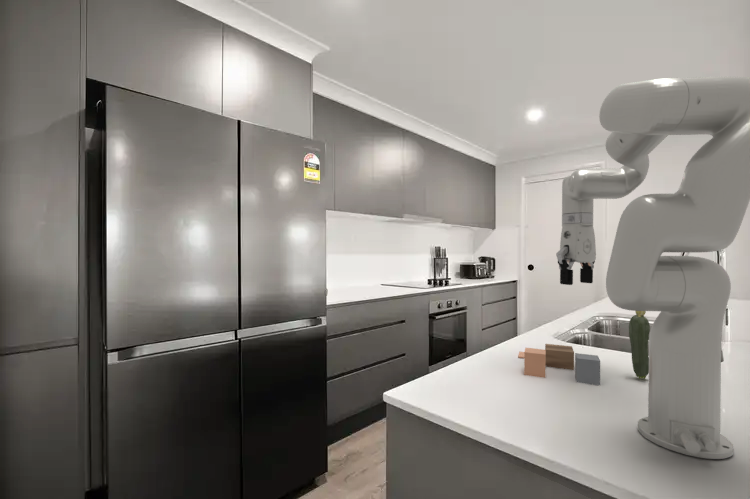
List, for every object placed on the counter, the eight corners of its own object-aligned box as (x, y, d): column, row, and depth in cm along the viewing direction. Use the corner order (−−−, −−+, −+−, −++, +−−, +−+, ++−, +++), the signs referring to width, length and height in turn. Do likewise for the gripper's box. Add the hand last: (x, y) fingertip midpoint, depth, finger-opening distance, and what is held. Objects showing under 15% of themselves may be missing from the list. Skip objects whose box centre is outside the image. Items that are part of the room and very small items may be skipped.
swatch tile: (539, 360, 108) (539, 359, 108) (518, 357, 111) (518, 356, 111) (540, 355, 114) (540, 353, 114) (519, 352, 116) (519, 351, 116)
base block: (573, 370, 100) (574, 352, 100) (545, 367, 103) (545, 349, 103) (571, 363, 106) (571, 346, 106) (545, 360, 109) (545, 343, 109)
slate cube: (600, 385, 89) (600, 360, 89) (576, 382, 91) (576, 358, 91) (597, 379, 93) (597, 355, 93) (575, 376, 95) (575, 353, 95)
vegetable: (649, 383, 90) (649, 302, 90) (627, 379, 93) (628, 300, 93) (649, 378, 94) (650, 300, 94) (628, 374, 96) (629, 298, 96)
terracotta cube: (545, 378, 94) (545, 354, 94) (524, 375, 96) (524, 352, 96) (545, 372, 98) (545, 349, 98) (525, 369, 100) (525, 347, 100)
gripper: (572, 218, 92) (572, 286, 93) (608, 221, 102) (607, 283, 102) (545, 220, 99) (544, 283, 99) (580, 223, 108) (580, 281, 108)
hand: (576, 283), depth 100 cm, fingers open, 9 cm apart
